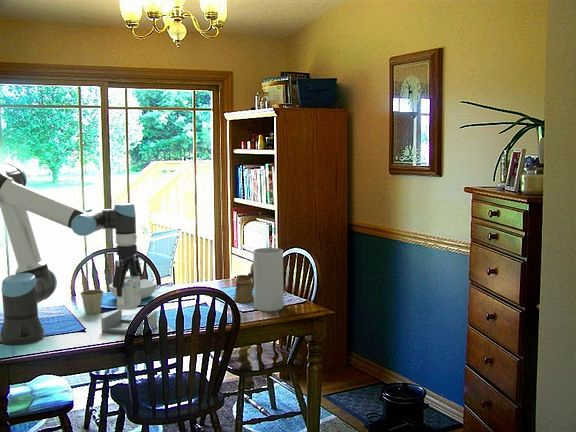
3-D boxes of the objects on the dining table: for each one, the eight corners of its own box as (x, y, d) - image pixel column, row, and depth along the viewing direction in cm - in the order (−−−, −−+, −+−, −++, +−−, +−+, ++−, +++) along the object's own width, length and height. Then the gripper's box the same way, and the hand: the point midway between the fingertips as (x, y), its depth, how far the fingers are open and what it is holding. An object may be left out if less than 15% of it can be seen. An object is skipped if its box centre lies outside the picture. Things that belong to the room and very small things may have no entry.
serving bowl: (166, 296, 306) (165, 281, 305) (134, 306, 288) (133, 291, 288) (132, 291, 317) (132, 276, 316) (99, 300, 299) (99, 285, 298)
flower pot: (98, 316, 275) (97, 295, 273) (77, 314, 276) (76, 294, 275) (108, 309, 284) (107, 290, 283) (88, 308, 286) (87, 289, 284)
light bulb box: (124, 302, 260) (123, 275, 259) (141, 302, 260) (140, 275, 258) (116, 310, 249) (115, 281, 248) (134, 310, 249) (133, 281, 248)
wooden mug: (266, 299, 299) (265, 260, 296) (240, 304, 291) (239, 263, 289) (255, 295, 306) (255, 257, 304) (230, 300, 298) (229, 260, 296)
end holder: (141, 336, 247) (140, 320, 247) (101, 332, 252) (101, 317, 251) (157, 326, 260) (156, 311, 259) (119, 323, 264) (118, 308, 263)
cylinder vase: (288, 309, 283) (288, 251, 279) (263, 313, 276) (262, 254, 273) (274, 302, 293) (273, 246, 290) (249, 307, 287) (248, 249, 283)
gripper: (119, 250, 239) (122, 309, 242) (150, 239, 262) (152, 293, 265) (100, 249, 241) (103, 308, 244) (132, 238, 264) (135, 292, 267)
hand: (129, 300), depth 254 cm, fingers closed on light bulb box, 11 cm apart
